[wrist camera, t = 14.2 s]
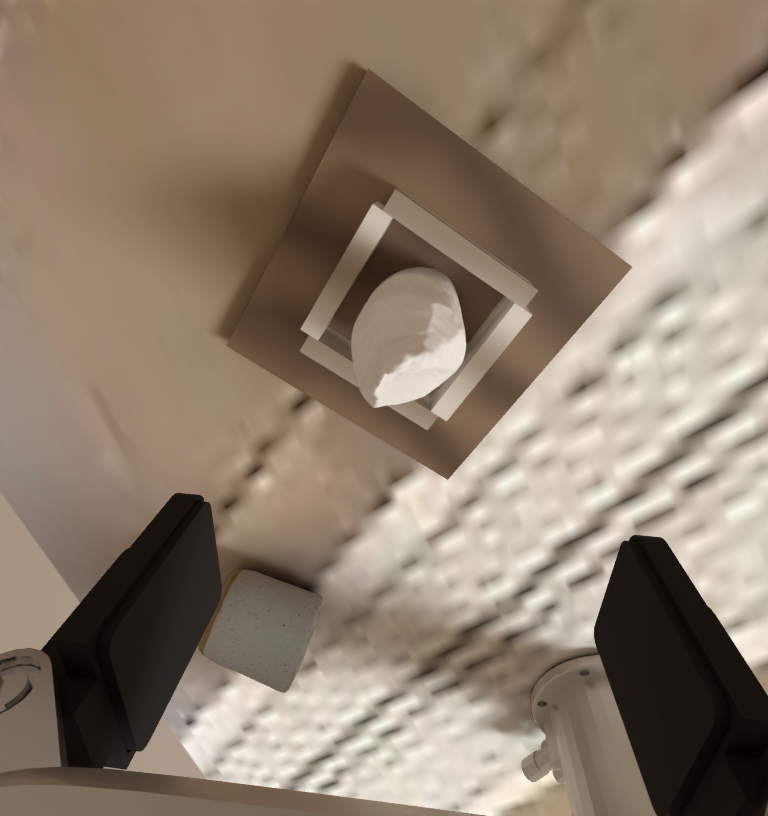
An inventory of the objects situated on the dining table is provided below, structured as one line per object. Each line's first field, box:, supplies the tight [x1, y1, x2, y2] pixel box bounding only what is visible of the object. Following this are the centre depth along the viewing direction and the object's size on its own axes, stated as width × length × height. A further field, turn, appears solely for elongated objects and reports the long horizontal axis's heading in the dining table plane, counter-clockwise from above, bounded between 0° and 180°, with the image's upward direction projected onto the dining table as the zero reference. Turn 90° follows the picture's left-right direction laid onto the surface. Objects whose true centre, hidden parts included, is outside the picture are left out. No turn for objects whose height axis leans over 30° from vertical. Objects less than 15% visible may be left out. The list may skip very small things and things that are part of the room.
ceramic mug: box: [198, 569, 323, 692], centre depth 40 cm, size 11×8×8 cm
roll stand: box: [227, 69, 632, 479], centre depth 29 cm, size 18×18×4 cm
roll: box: [351, 267, 466, 408], centre depth 25 cm, size 6×12×6 cm
